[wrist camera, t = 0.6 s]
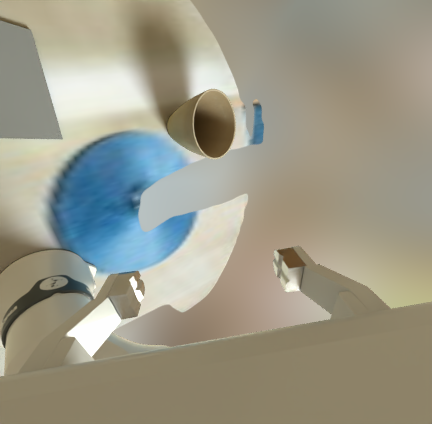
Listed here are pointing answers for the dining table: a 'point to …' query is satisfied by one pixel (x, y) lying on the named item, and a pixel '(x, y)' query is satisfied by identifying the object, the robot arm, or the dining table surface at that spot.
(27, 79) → the grey mat
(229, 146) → the plant pot
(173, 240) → the dining table surface
